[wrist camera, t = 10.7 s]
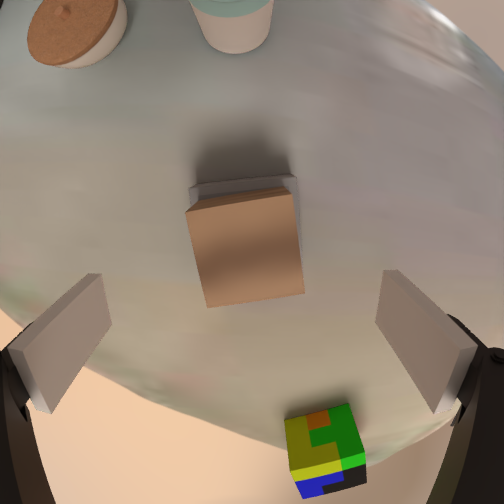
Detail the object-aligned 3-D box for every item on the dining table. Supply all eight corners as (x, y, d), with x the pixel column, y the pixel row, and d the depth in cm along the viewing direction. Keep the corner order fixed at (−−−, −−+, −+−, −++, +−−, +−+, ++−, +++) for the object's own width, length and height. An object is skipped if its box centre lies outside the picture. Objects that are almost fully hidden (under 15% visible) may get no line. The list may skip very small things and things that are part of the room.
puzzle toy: (296, 453, 46) (302, 499, 36) (284, 419, 43) (289, 471, 33) (353, 438, 45) (366, 482, 35) (348, 402, 42) (365, 452, 32)
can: (213, 63, 28) (194, 19, 17) (196, 13, 26) (173, -43, 15) (277, 46, 28) (291, -4, 16) (258, -4, 26) (261, -64, 14)
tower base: (195, 184, 32) (188, 188, 28) (291, 174, 32) (296, 176, 28) (208, 273, 35) (203, 288, 31) (297, 264, 35) (303, 278, 31)
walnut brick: (198, 200, 29) (185, 212, 23) (283, 186, 28) (292, 194, 23) (214, 280, 31) (207, 308, 25) (295, 267, 31) (304, 293, 25)
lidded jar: (73, 7, 25) (35, -19, 16) (148, -4, 25) (121, -42, 16) (54, 81, 28) (7, 68, 19) (130, 75, 28) (92, 52, 20)
